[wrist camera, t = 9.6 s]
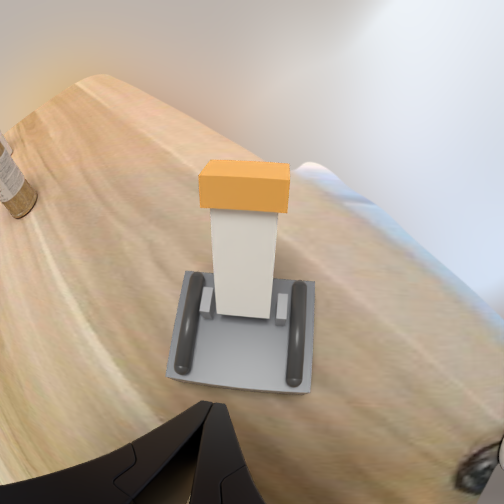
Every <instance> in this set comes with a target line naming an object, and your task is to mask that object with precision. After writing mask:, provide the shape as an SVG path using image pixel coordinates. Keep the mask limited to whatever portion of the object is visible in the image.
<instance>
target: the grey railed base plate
mask: <svg viewBox="0 0 504 504" xmlns="http://www.w3.org/2000/svg"><path fill="white" fill-rule="evenodd" d="M314 301H315V282H314V281H302V280H286V279H273V284H272V295H271V306H270V317H269V319H267V318H255V317H244V316H234V315H224V314H217V310H216V297H215V283H214V273H203V272H193V271H185V275H184V280H183V284H182V289H181V294H180V299H179V304H178V309H177V314H176V319H175V325H174V330H173V335H172V341H171V346H170V352H169V358H168V364H167V370H166V376H165V377H168V378H171V379H173V380H176V381H180V382H186V383H192V384H198V385H204V386H211V387H219V388H226V389H235V390H244V391H254V392H266V393H279V394H298V395H304V394H307V393H310V387H311V372H312V355H313V333H314Z"/></svg>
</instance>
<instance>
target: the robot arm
mask: <svg viewBox="0 0 504 504" xmlns="http://www.w3.org/2000/svg"><path fill="white" fill-rule="evenodd" d="M190 494H191V496H190ZM189 496H190V502H189V504H266V503H265V501H264V500H263V498H262V496H261V495H260V493H259V491H258V489H257V488H256V486H255V484H254V481H253V479H252V477H251V475H250V472H249V469H248V467H247V465H246V462H245V459H244V457H243V454H242V451H241V448H240V445H239V442H238V440H237V437H236V434H235V431H234V428H233V425H232V422H231V419H230V416H229V413H228V410H227V407H226V405H225V404H222V403H212V402H208V401H200V402H198V403H197V404H195V405H193V406H192V407H190V408H189V409H187V410H185V411H184V412H182V413H181V414H179V415H177V416H176V417H174V418H173V419H171V420H169V421H168V422H166V423H164V424H163V425H161V426H159V427H157V428H156V429H154V430H152V431H151V432H149V433H147V434H145V435H144V436H142V437H140V438H138V439H136V440H135V441H133V442H132V443H128V444H127V445H125V446H123V447H121V448H119V449H117V450H115V451H113V452H111V453H109V454H106V455H104V456H101V457H99V458H96V459H93V460H91V461H88V462H85V463H82V464H79V465H76V466H73V467H70V468H67V469H64V470H60V471H57V472H54V473H50V474H47V475H43V476H40V477H36V478H32V479H28V480H24V481H20V482H15V483H11V484H6V485H0V504H186V503H187V501H188V498H189Z"/></svg>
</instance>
